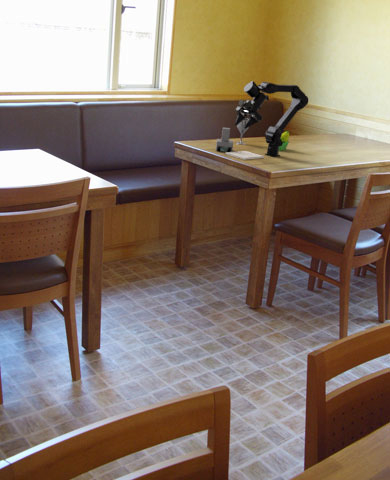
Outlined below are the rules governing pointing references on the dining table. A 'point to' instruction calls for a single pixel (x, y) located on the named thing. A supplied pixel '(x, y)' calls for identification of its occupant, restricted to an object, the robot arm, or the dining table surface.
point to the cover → (225, 140)
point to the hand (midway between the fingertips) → (240, 126)
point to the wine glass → (242, 130)
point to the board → (244, 155)
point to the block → (224, 149)
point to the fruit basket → (284, 140)
